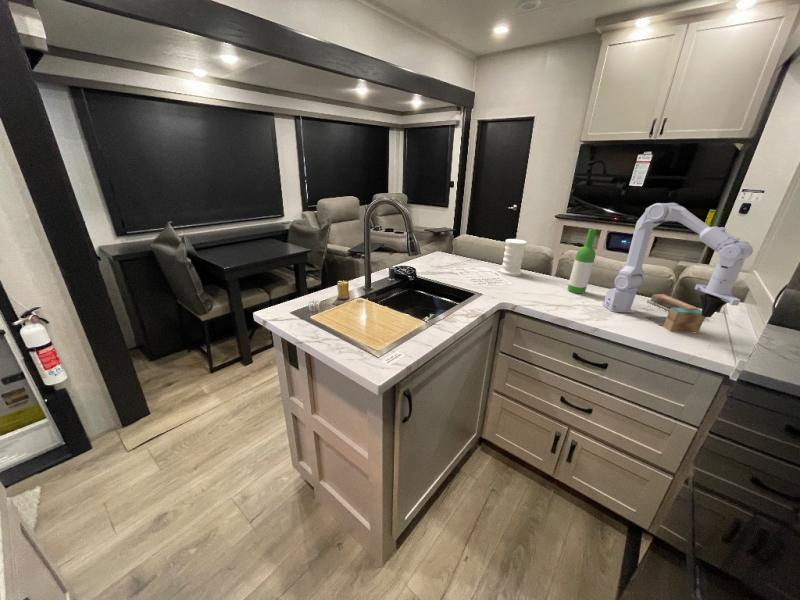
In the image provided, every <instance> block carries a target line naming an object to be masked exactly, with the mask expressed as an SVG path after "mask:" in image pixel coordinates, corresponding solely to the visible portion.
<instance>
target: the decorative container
mask: <svg viewBox="0 0 800 600" xmlns="http://www.w3.org/2000/svg"><path fill="white" fill-rule="evenodd" d="M505 244H506V245H505V246H504V249H505V250H504V253H503V255H504V256H503V259H502V260H503V261H502V264H501V265H502V267H501V268H499V269H500V270H499V273H501V274H502V275H505V276H509V277H520V276H521V275H522V270H521V268H522V263H523V258H524V255H525V254H524V251H525V246H526V245H527V241H526V240H524V239H518V238H507V239H505Z"/></svg>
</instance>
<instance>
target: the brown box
mask: <svg viewBox="0 0 800 600" xmlns="http://www.w3.org/2000/svg"><path fill="white" fill-rule="evenodd" d="M699 309H700V308H699ZM699 309H686V308H670V311H669V312H667V316H666V317H667V318H666V320H665V323H664V325H663V326H662V327H663V328H665V329H666V330H668V331H669V332H679V333H693V332H696V333H697V334H698V333H699V331H700V329H701V327H702V325H703V323H704V321H705V319H706V317H704V316H702V315H701V314H702V309H700V310H699Z"/></svg>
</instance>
